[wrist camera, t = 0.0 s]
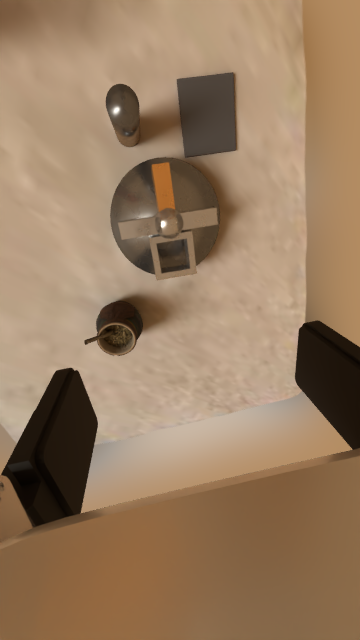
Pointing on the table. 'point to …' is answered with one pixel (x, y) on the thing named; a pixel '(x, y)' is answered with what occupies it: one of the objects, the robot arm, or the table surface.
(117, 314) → the mate gourd
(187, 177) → the chuck base
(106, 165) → the table surface
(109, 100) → the grey pestle
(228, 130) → the mat
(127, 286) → the table surface
